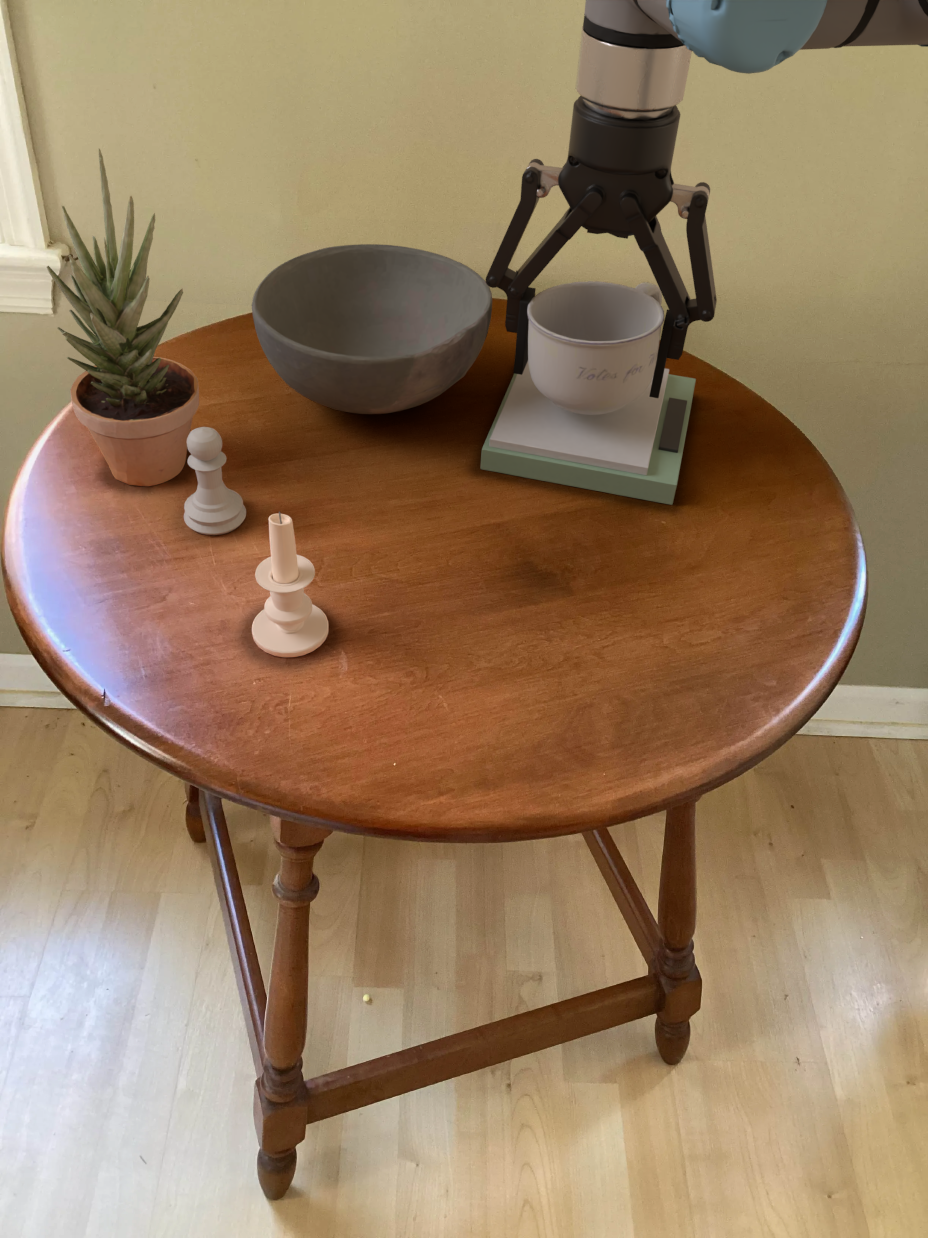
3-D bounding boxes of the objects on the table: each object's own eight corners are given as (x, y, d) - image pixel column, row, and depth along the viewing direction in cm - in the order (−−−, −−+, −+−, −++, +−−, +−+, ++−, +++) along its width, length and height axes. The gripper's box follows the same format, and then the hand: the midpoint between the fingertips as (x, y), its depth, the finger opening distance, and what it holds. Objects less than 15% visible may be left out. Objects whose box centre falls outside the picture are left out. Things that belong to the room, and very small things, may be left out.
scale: (691, 397, 96) (697, 370, 94) (672, 505, 84) (678, 476, 82) (522, 368, 99) (525, 341, 97) (480, 469, 87) (482, 440, 85)
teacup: (577, 445, 82) (589, 354, 77) (494, 384, 88) (500, 295, 83) (702, 394, 89) (722, 306, 83) (616, 340, 95) (629, 255, 89)
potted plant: (220, 486, 83) (176, 172, 66) (98, 509, 81) (18, 188, 63) (195, 420, 90) (149, 119, 73) (81, 439, 87) (5, 131, 70)
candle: (286, 595, 75) (274, 476, 67) (344, 625, 73) (338, 506, 65) (236, 636, 71) (218, 516, 64) (295, 669, 69) (284, 549, 62)
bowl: (371, 315, 105) (369, 217, 98) (530, 393, 96) (541, 290, 89) (213, 391, 93) (198, 286, 86) (377, 487, 84) (375, 378, 77)
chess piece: (255, 527, 80) (244, 439, 74) (194, 543, 78) (179, 454, 73) (235, 493, 83) (224, 406, 77) (176, 507, 81) (161, 420, 76)
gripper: (798, 105, 74) (729, 378, 89) (479, 63, 77) (465, 334, 93) (796, 141, 69) (723, 425, 84) (453, 95, 72) (443, 376, 87)
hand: (587, 377), depth 88 cm, fingers closed on teacup, 11 cm apart
